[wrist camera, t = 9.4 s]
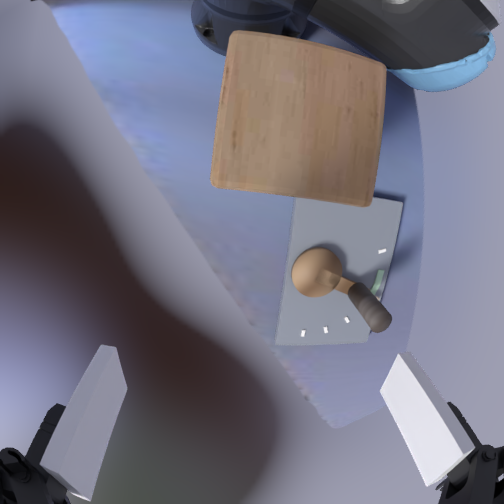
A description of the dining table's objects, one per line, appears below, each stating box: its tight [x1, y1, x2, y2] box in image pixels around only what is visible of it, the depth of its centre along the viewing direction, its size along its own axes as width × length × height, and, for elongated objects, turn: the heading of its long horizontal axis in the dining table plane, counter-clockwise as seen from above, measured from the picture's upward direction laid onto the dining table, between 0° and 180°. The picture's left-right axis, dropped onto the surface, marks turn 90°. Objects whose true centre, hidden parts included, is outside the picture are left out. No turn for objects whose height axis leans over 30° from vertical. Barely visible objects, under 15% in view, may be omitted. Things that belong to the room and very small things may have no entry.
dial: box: [291, 247, 392, 333], centre depth 33 cm, size 15×7×9 cm, turn 65°
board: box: [274, 197, 403, 345], centre depth 38 cm, size 24×16×2 cm, turn 175°
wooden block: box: [210, 30, 387, 208], centre depth 23 cm, size 10×10×20 cm
